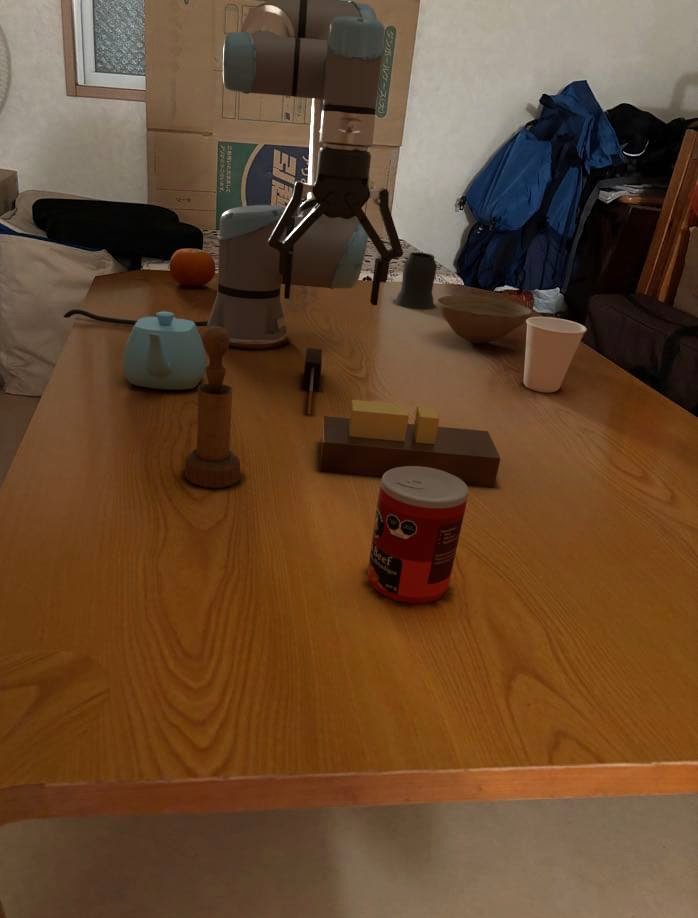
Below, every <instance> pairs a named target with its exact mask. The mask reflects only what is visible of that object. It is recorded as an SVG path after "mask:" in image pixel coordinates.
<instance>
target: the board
mask: <svg viewBox="0 0 698 918" xmlns="http://www.w3.org/2000/svg"><path fill="white" fill-rule="evenodd" d="M349 421H350V417H349V418H348V417H339V416H329V415H324V416H323V422H322V431H321V432H322V433H321V440H320V462H319V465H320V466H319V472H324V473H325V472H326V473H335V474H336V473H337V474H345V475H346V474H347V475H357V476H358V475H359V476H368V477H369V476H370V477H379V478H382V477H383V475H384V473H386V472H387V471H389V470H391V469H394V468H397V467H404V466H421V467H428V468H434V469H438V470H442V471H444V472H447V473H450V474H452V475H454V476H456V477H458V478H459V479H461V480H462V481H463V482H464V483H465V484H466V485H467V486H478V487H479V486H480V487H489V488H494V487H495V485H496V484H495V483H496V480H497V476H498V471H499V467H500V462H501V456H500V453H499V451H498V449H497V447H496V445H495V443H494V440H493V439H492V437H491V434H490V432H489V431H488V430H480V429H469V428H468V429H467V428H460V427H459V428H458V427H446V426H438V429H437V434H436V440H435V444H426V443H416V441H415V437H414V433H413V428H414V423H408V424H407V430H406V436H405V441H393V440H382V439H372V438H361V437H350V436H349Z"/></svg>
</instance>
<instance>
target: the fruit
mask: <svg viewBox="0 0 698 918" xmlns="http://www.w3.org/2000/svg"><path fill="white" fill-rule="evenodd" d="M169 272H170V275H171V277H172V279H173V280H174V281H175V282H177V283H178V284H180V285H182V286H185V287H200V286H205V285H207V284H209V283H210V282H211V281H212V280H213V279H214V277H215V274H216V263H215V260H214V257H213V256H212V255H211V254H210V253H208V252H207V251H206V250H203V249H199V248H189V247H188V248H180V249H178V250H176V251H175V252H174V253H173V255H172V256H171V258H170V261H169Z"/></svg>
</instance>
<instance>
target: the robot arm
mask: <svg viewBox="0 0 698 918" xmlns="http://www.w3.org/2000/svg"><path fill="white" fill-rule="evenodd" d="M240 30H241V31H229V32H227V33H226V35H225V37H224V40H223V51H222V52H223V53H222V56H223V57H222V80H223V81H222V82H223V86H224V88H226V89H227V90H228V91H232V92H238V93H243V94H245V95H249V94H258V95H259V94H260V95H272V96H273V95H274V96H283V97H284V96H285V97H292V98H302V99H303V98H304V99H312V101H311V102H312V103H311V118H310V121H311V122H310V136H309V137H310V138H309V139H310V140H309V153H308V170H307V171H308V172H307V174H308V175H307V183H306V182H302V181H301V180H296V181H295V182H294V186H293V191H292V196H291V198H290V200H289V202H288V204H287V205H286V207H285V206H283V205H277V204H276V205H275V204H273V205H272V204H255V205H245V206H237V207H232V208H229V209H227V210H225V211H224V212H223V213H222V214H221V216H220V220H219V231H218V236H217V241H218V264H217V265H218V266H217V293H216V297H215V300H214V302H213V306H212V309H211V312H210V315H209V317H208V320H197V321H195V320H194V321H193V322H194V323H195V325H196V327H206V330H207V329H208V328H210V327H222V328H223V329H225V330H226V331H227V333H228V335H229V338H230V344H229V348H230V347H231V348H236V349H237V348H238V349H248V350H249V349H250V350H261V349H263V350H264V349H273V348H277V347H280V346H283V345H284V344H286V343H287V339H288V328H287V322H286V318H285V316H284V310H283V307H282V303H281V287H282V285H284V293H283V295H284V296H283V297H284V298H283V299H287V300H290V297H291V286H301V287H312V288H322V289H330V290H335V289H344V290H345V289H347V290H348V289H352V288H354V287H355V286H356V285H357V284H358V282H359V279H360V276H361V272H362V268H363V264H364V263H363V262H364V260H365V254H366V250H367V244H368V240H370V241H371V243H372V244H373V246H374V248H375V249H376V251H377V253H378V254H379V255H380V258H375V260H374V268H373V275H372V285H371V292H370V300H369V301H370V304H371V305H372V306H378V301H379V293H380V285H381V283H387V281H388V276H389V269H390V263H391V261H392V260H394V259H397V258H401V257H403V255H404V251H403V247H402V244H401V240H400V238H399V235H398V231H397V229H396V226H395V225H396V224H395V222H394V219H393V216H392V212H391V209H390V206H389V199H390V198H389V197H390V196H389V195H390V194H389V190H388V189H387V188H385V187H380V188H379V189H376V188H375V189H370V187H369V179H370V178H369V177H370V171H371V169H370V168H371V159H372V154H371V152H370V151H368V149H369V148H371V147H372V146H373V142H374V141H373V139H374V133H375V132H374V131H375V122H376V112H377V103H378V93H379V88H380V87H379V86H380V80H381V79H380V78H381V70H382V62H383V56H384V54H385V47H384V45H385V32H386V31H385V25H384V23H382V21H381V20H378V18H377V14H376V11H375V10H374V8H373V7H372V6H371V5H369V4H367V3H362V2H356V1H355V0H348V1H341V0H340V1H338V0H267V1H264V2H262V3H260V4H257V5H255V7H253V8H252V9H251V10H250V11H248V13H247V15H246V16H245V17H244V20H243V22H242V26H241V29H240ZM370 198H371V199H372V201H373V203H374V204H375V205H376V206H378V210H379V213H380V216H381V218H382V222H383V226H384V229H385V232H386V235H387V238H388V241H389V245H390V247H391V248H389V249H387V247H386V245H385V244H384V242H383V241H382V239H381V237H380V236H379V234H378V232H377V231H376V229H375V228H374V226H373V224H372V223H371V222H370V220H369V218H368V216H367V215H366V213H365V211H364V210H363V209H362V208H363V207H364V206H365V204H366V203H367V202H368V201H369V199H370ZM305 199H306V200H305ZM301 200H305V201H304V202H302V203H301ZM300 203H301V204H300ZM296 210H297V216H296V215H295V216H294V214H295V213H296ZM75 315H81V316H84V317H87V318H89V319H92V320H95V321H98V322H103V323H104V322H105V323H110V324H112V323H113V324H119V325H127V326H128V325H129V326H134V325H135V324H136V322H137V321H138V320H134V319H127V318H126V319H125V318H117V317H110V316H102V315H97V314H95V313H92V312H90V311H87V310H84V309H80V308H79V309H78V308H74V309H70V310H68V311H67V312H66V313H65V314H64V315H63V318H66V319H67V318H68V319H69V318H71V317H72V316H75Z"/></svg>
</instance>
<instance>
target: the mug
mask: <svg viewBox="0 0 698 918" xmlns="http://www.w3.org/2000/svg"><path fill="white" fill-rule="evenodd" d="M408 254H409V255H408V257H407V258H406V260H405V261H404V263H403V270H402V280H401V288H400V291H399V292H398V294H397V296H396V299H395V304H396V305H398V306H401V307H404V308H409V309H416V310H429V309H433V308H434V305H435V304H434V296H433V289H434V283H435V278H436V273H437V266H438V265H437V264H436V263H437V262H436V261H435V255H433V254H431V253H428V252H427V253H426V252H415V251H413V252H410V253H408Z"/></svg>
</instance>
